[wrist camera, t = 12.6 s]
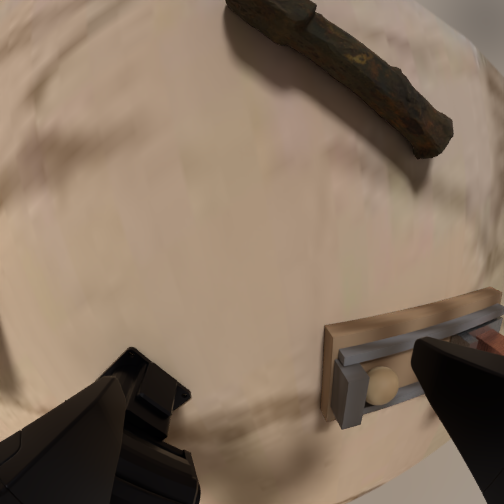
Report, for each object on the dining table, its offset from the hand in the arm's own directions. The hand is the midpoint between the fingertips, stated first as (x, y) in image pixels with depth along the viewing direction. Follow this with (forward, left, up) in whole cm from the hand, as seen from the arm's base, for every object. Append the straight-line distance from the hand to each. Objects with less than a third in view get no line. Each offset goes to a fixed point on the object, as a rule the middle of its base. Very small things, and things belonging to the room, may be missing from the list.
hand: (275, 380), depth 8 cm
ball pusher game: (+6, -18, -13) cm, 23 cm away
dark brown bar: (+14, +6, -14) cm, 20 cm away
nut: (+1, -14, -11) cm, 18 cm away
